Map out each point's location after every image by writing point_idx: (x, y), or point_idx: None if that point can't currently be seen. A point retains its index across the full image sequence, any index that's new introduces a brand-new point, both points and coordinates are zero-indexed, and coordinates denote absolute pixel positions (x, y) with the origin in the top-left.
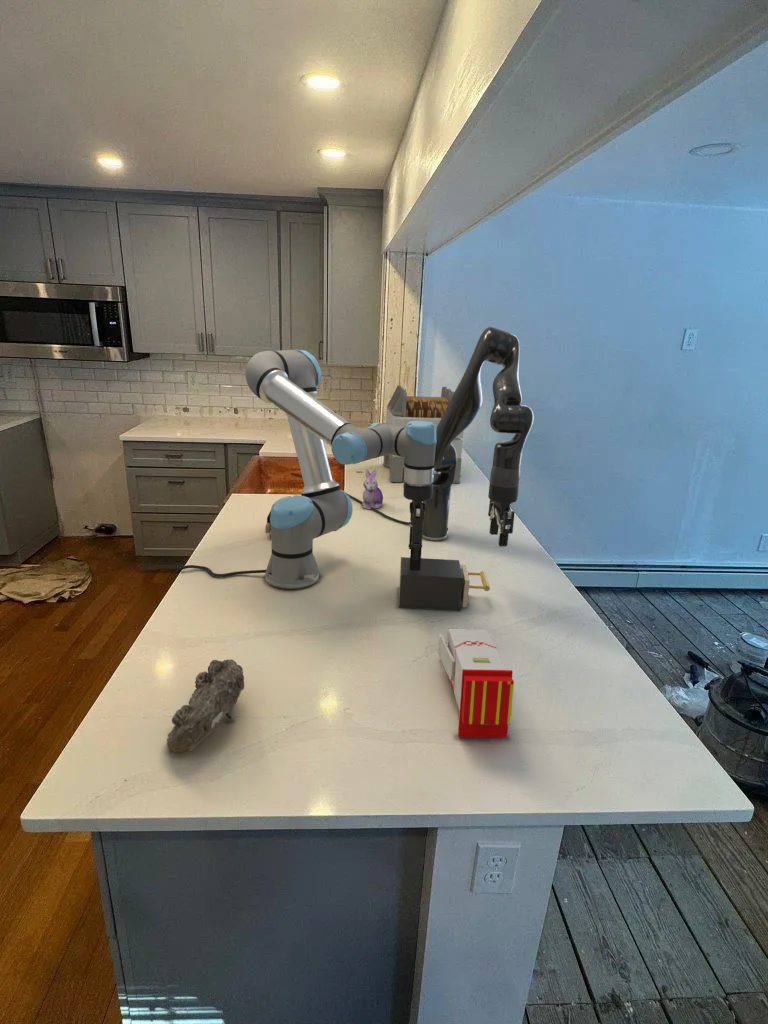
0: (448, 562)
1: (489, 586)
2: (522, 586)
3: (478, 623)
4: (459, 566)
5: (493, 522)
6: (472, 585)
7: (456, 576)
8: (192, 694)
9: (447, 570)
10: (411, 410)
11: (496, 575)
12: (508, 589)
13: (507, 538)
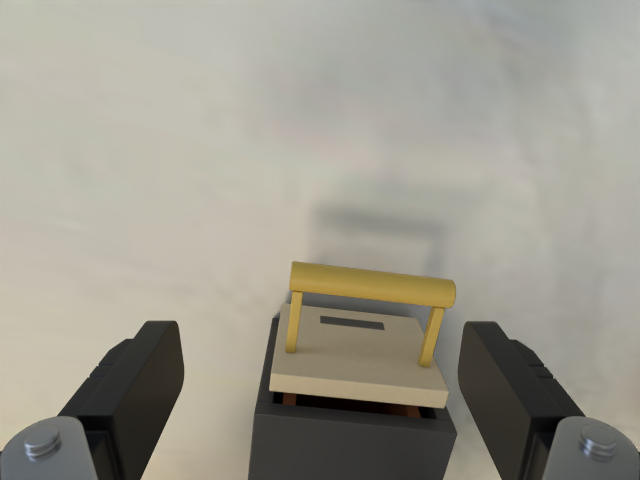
0: (285, 461)
1: (447, 285)
2: (211, 9)
3: (506, 292)
4: (331, 425)
5: (129, 472)
6: (425, 352)
7: (438, 454)
8: None
9: (374, 478)
10: None
11: (103, 112)
12: (247, 96)
13: (566, 393)
